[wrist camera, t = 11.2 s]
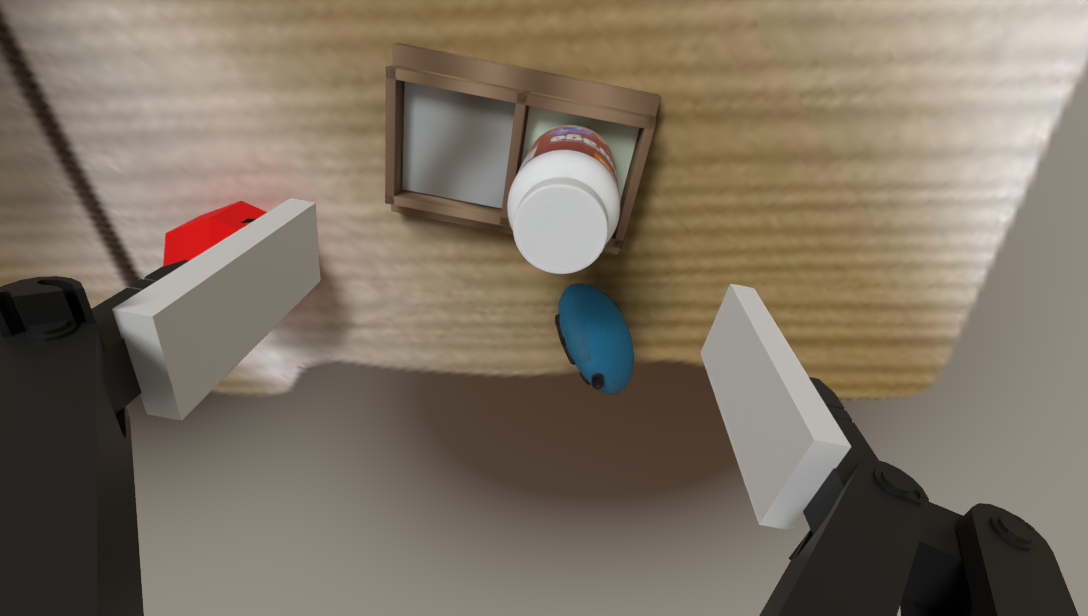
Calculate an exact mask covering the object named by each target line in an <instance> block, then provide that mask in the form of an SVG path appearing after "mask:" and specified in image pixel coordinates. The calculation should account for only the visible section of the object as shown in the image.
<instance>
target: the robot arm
mask: <svg viewBox="0 0 1088 616" xmlns="http://www.w3.org/2000/svg"><path fill="white" fill-rule="evenodd" d="M320 281H321V279H320V264H319V249H318V234H317V219H316V204H315V203H314V202H309V201H303V200H298V199H293V198H290V199H288V200H286V201H285V202H283V203H282V204H280V205H278V206H277V207H275V208H274V209H272V210H270V211H269V212H267V213H266V214H264V215H262V216H261V217H259V218H258V219H256V220H254V221H253V222H251V223H250V224H248V225H246V226H245V227H243V228H242V229H240V230H238V231H237V232H235V233H233V234H232V235H230V236H229V237H227V238H225V239H224V240H222V241H221V242H219V243H217V244H216V245H214V246H213V247H211V248H209V249H208V250H206V251H205V252H203V253H201V254H200V255H198V256H197V257H195V258H193V259H192V260H190V261H188V260H182V261H179V262H176V263H173V264H170V265H167V266H164V267H161V268H159V269H158V270H156V271H154V272H153V273H151V274H149V275H148V276H146V277H145V279H144V280H142V279H141V280H139V281H137V282H136V283H134V284H132V285H131V287H130V288H126V289H124V290H122V291H121V292H119V293H117V294H116V295H114V296H112V297H111V298H109V299H107V300H106V301H104V302H102V303H101V304H99V305H97V306H96V307H94V308H92V309H91V307H90V304H89V302H88V299H87V296H86V293H85V290H84V288H83V286H82V284H81V282H79V281H76V280H74V279H72V278H66V277H58V276H53V277H36V278H31V279H25V280H20V281H17V282H13V283H10V284H7V285H4V286H2V287H0V333H1V335H0V616H144V613H143V599H142V584H141V570H140V557H139V543H138V528H137V514H136V498H135V484H134V470H133V457H132V456H133V455H132V441H131V426H130V417H129V414H128V411H127V408H126V405H127V404H129V403H130V402H131V401H132V400H133V399H135V398H136V397H137V396H138V395H139V394H140V395H141V398H142V401H143V404H144V407H145V410H146V413H147V414H149V415H155V416H160V417H166V418H171V419H177V420H183V419H184V418H185V417H186V416H187V415H188V414H189V413H190V412H191V411H192V410H193V409H194V407H196V406H197V405H198V404H199V402H201V400H203V399H204V398H205V397H206V396H207V395H208V394H209V392H210V391H211V390H212V389H213V388H214V387H215V386H216V385H217V384H218V383H219V382H220V381H221V380H222V379H223V378H224V377H225V376H226V375H227V374H228V373H229V372H230V371H231V370H232V369H233V368H234V367H235V366H236V365H237V364H238V363H239V362H240V361H241V360H242V359H243V358H244V357H245V356H246V355H247V354H248V353H249V352H250V351H251V350H252V349H253V348H254V347H255V346H256V345H257V344H258V343H259V342H260V341H261V340H262V339H263V338H264V337H265V336H266V335H267V334H268V333H269V332H270V331H271V330H272V329H273V328H274V327H275V326H276V325H277V324H278V323H279V322H280V321H281V320H282V319H283V318H284V317H285V316H286V315H287V314H288V313H289V312H290V311H291V310H292V309H293V308H294V307H295V306H296V305H297V304H298V303H299V302H300V301H301V300H302V299H303V298H304V297H305V296H306V295H307V294H308V293H309V292H310V291H311V290H312V289H313V288H314V287H315V286H316V285H317V284H318V283H319V282H320ZM701 356H702V359H703V362H704V365H705V368H706V370H707V373H708V376H709V379H710V382H711V385H712V388H713V391H714V394H715V397H716V400H717V403H718V406H719V408H720V412H721V414H722V418H723V420H724V423H725V426H726V429H727V432H728V435H729V438H730V441H731V444H732V447H733V450H734V452H735V456H736V459H737V461H738V465H739V467H740V470H741V473H742V476H743V479H744V482H745V485H746V488H747V491H748V494H749V497H750V500H751V503H752V505H753V509H754V512H755V514H756V518H757V520H758V523H759V524H760V525H764V526H770V527H775V528H781V529H787V530H792V529H793V527H794V526H795V525H796V523H797V522H798V520H799V519H800V518H801V516H802V515H803V513H804V515H805V517H806V520H807V522H808V524H809V526H810V531H809V532H808V534H807V535H806V536H805V537H804V539H803V540H802V541H801V543H800V544H799V545H798V547H797V548H796V549H795V551H794V552H793V554H792V555H791V556H790V557H789V559H790V560H791V561H790V563H789V565H788V567H787V569H786V570H785V572H784V574H783V575H782V577H781V579H780V581H779V582H778V584H777V586H776V588H775V590H774V591H773V593H772V595H771V596H770V598H769V600H768V602H767V603H766V605H765V607H764V609H763V611H762V612H761V614H760V616H897V613H898V609H899V606H900V609H901V616H1078V614H1077V611H1076V608H1075V606H1074V603H1073V601H1072V598H1071V596H1070V593H1069V591H1068V588H1067V586H1066V583H1065V581H1064V578H1063V576H1062V573H1061V571H1060V568H1059V566H1058V563H1057V561H1056V558H1055V556H1054V553H1053V551H1052V550H1051V548H1050V547H1049V545H1048V543H1047V542H1046V540H1045V539H1044V538H1043V537H1042V536H1041V535H1040V534H1039V533H1038V532H1037V531H1035V529H1034V528H1033V527H1032V526H1031V525H1029V524H1028V523H1026V522H1024V520H1023V519H1021V518H1020V517H1018V516H1016V515H1013V514H1012V513H1010V512H1008V511H1006V510H1005V509H1002V508H999V507H996V506H994V505H991V504H982V503H981V504H980V503H979V504H977V505H975V506H973V507H972V508H971V509H970V510H969V511H968V512H967V513H966V514H965V515H964V516H962V515H960V514H957V513H955V512H953V511H950V510H948V509H945V508H943V507H940V506H938V505H935V504H933V503H931V502H929V499H928V497H927V495H926V494H925V492H924V490H923V489H922V487H921V486H920V485H919V484H918V483H917V482H916V481H915V480H914V479H913V478H911V477H910V476H909V475H907V474H906V473H905V472H903V471H902V470H900V469H898V468H896V467H894V466H892V465H890V464H888V463H886V462H882V461H879V460H878V458H877V457H876V455H875V454H874V452H873V451H872V449H871V448H870V446H869V445H868V443H867V442H866V440H865V439H864V437H863V435H862V434H861V432H860V431H859V429H858V428H857V426H856V425H855V423H852V419H851V417H850V416H849V414H848V413H847V411H845V410H844V407H843V405H842V404H841V402H840V401H839V399H838V397H837V396H836V394H835V393H834V392H833V391H832V390H831V389H829V388H828V387H827V386H826V385H825V384H824V383H823V382H822V381H820V380H819V379H816V378H811V377H808V375H807V374H806V372H805V371H804V369H803V367H802V366H801V364H800V362H799V361H798V359H797V358H796V356H795V354H794V353H793V351H792V349H791V348H790V346H789V345H788V343H787V341H786V340H785V338H784V336H783V335H782V333H781V332H780V330H779V328H778V327H777V325H776V323H775V322H774V320H773V319H772V317H771V315H770V314H769V312H768V310H767V309H766V307H765V306H764V304H763V302H762V301H761V299H760V297H759V296H758V294H757V293H756V291H755V289H754V288H750V287H745V286H740V285H734V284H730V286H729V288H728V290H727V293H726V295H725V297H724V300H723V302H722V304H721V307H720V309H719V311H718V314H717V316H716V318H715V321H714V323H713V325H712V328H711V330H710V332H709V335H708V337H707V339H706V342H705V344H704V346H703V348H702V351H701Z"/></svg>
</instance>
